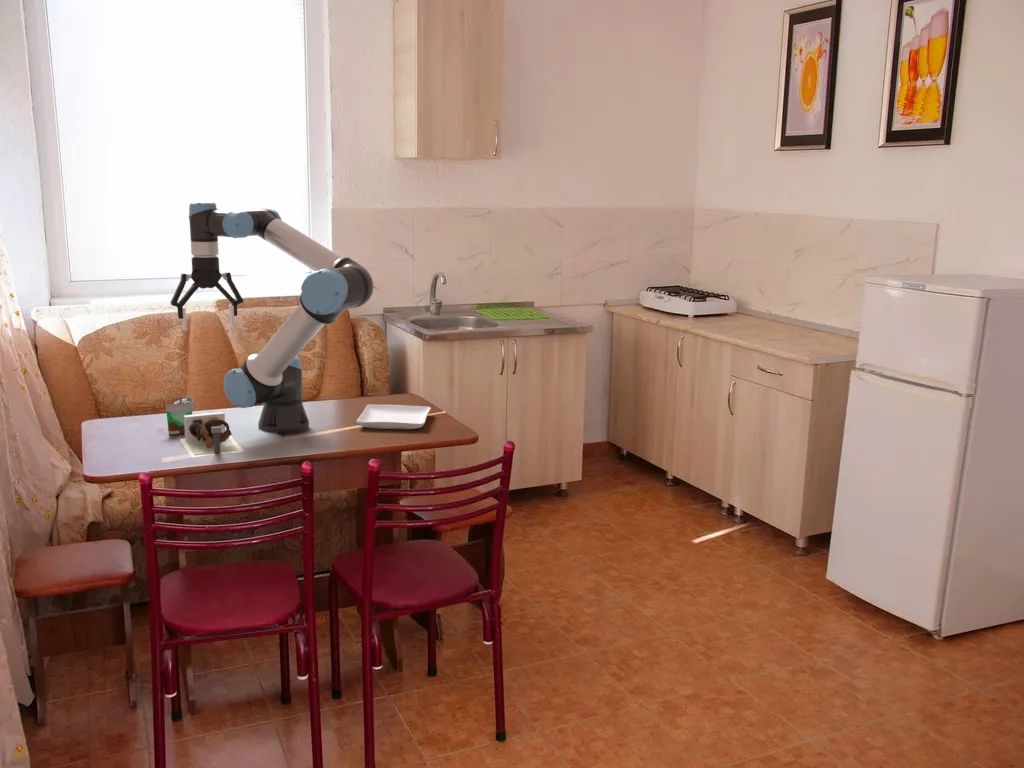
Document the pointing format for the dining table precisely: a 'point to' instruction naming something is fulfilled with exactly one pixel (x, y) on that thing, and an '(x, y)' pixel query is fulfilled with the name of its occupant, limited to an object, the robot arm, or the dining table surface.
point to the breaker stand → (199, 447)
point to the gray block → (216, 438)
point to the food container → (178, 415)
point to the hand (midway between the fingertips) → (208, 328)
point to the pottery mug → (209, 431)
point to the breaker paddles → (201, 420)
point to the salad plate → (393, 416)
